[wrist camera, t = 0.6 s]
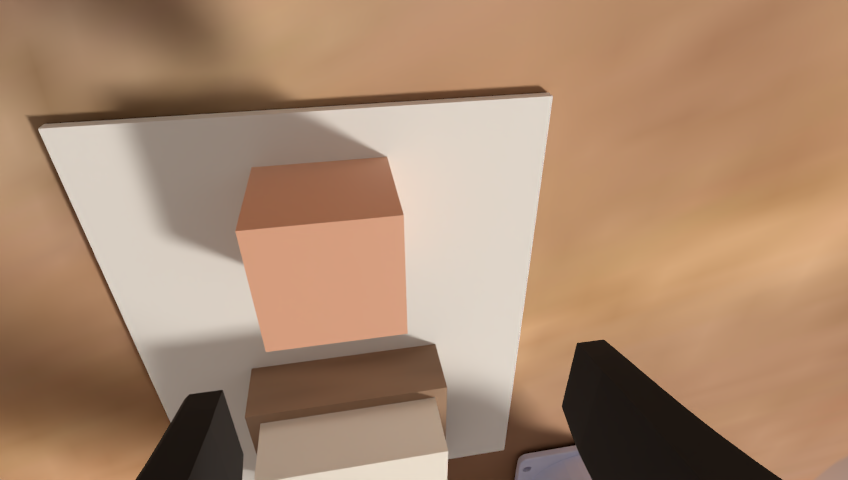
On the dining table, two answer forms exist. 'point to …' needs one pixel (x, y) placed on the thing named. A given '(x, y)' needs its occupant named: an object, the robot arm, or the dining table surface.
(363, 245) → the terracotta block
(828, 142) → the dining table surface
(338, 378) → the walnut base block
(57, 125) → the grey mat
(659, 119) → the dining table surface
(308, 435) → the cream block
